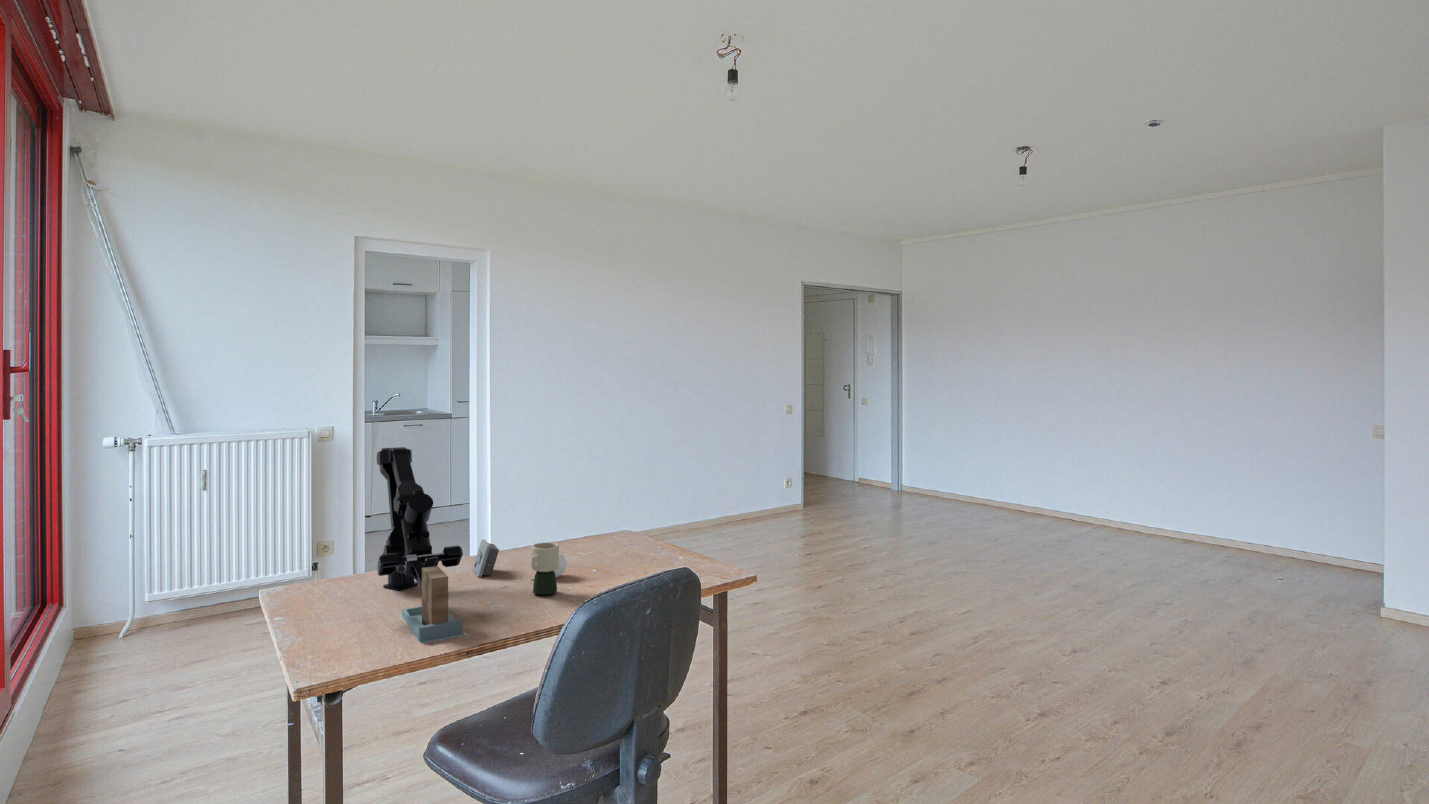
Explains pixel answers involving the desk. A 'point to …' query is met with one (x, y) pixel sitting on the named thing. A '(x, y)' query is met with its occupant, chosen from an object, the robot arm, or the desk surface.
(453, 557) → the robot arm
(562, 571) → the geometric ball
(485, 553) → the electrical switch
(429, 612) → the brown wooden block
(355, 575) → the desk surface
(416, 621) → the slot base
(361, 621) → the desk surface
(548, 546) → the character mug
